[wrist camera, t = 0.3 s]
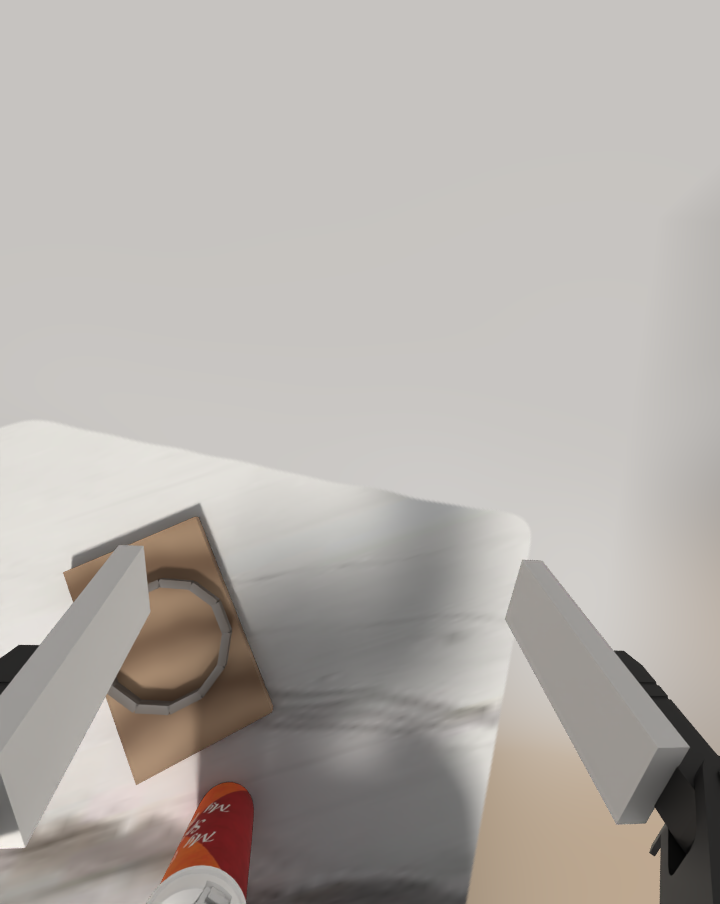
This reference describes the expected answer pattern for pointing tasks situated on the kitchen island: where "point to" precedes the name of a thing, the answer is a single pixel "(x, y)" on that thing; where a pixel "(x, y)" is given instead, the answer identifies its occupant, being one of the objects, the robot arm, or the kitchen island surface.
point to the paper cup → (212, 852)
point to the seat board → (181, 656)
